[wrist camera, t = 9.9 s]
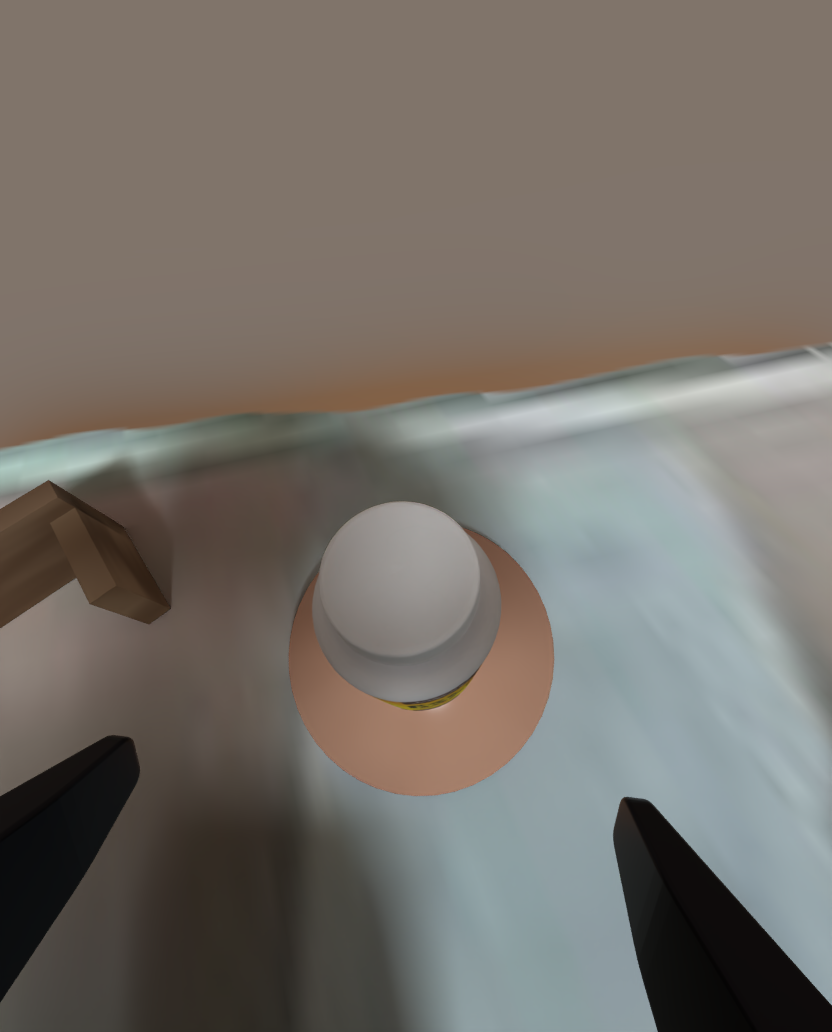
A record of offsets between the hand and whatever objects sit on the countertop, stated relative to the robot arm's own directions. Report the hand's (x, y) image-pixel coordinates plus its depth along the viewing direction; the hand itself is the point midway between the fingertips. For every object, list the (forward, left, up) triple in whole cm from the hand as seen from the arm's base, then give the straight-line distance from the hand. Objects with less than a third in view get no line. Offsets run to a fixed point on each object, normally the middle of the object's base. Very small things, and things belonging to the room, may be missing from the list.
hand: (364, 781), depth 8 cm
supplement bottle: (+4, -2, -11) cm, 12 cm away
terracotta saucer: (+4, -3, -12) cm, 13 cm away
